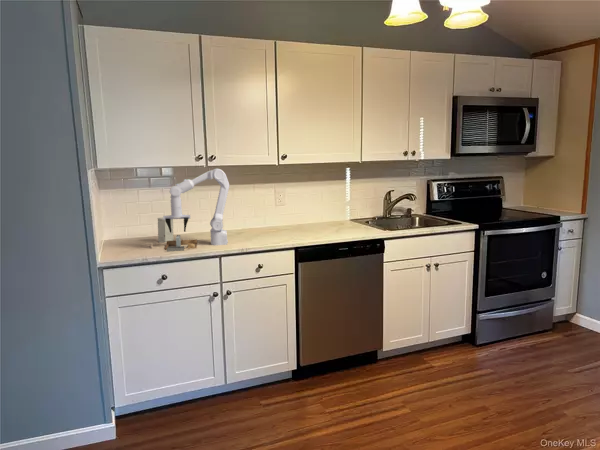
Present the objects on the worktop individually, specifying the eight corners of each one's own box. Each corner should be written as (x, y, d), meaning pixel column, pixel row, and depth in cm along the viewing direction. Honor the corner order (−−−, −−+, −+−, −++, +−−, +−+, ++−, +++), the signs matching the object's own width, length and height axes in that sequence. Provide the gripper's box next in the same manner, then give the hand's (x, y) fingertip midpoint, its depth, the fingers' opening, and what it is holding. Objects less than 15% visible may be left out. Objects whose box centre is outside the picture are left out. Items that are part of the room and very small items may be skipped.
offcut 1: (193, 246, 255) (193, 243, 255) (193, 247, 252) (193, 244, 252) (187, 246, 254) (187, 243, 254) (188, 247, 251) (188, 244, 251)
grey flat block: (180, 247, 259) (180, 235, 257) (180, 250, 251) (179, 237, 250) (177, 247, 258) (176, 235, 257) (176, 250, 250) (176, 238, 249)
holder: (184, 250, 249) (184, 246, 249) (184, 252, 245) (184, 247, 244) (167, 251, 247) (167, 247, 247) (167, 253, 243) (166, 248, 243)
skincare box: (158, 242, 273) (156, 217, 270) (166, 240, 277) (165, 216, 275) (165, 244, 267) (164, 219, 265) (174, 242, 272) (173, 217, 269)
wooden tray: (197, 245, 262) (196, 239, 262) (196, 249, 251) (196, 243, 250) (167, 246, 259) (166, 240, 259) (165, 251, 247) (164, 245, 247)
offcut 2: (194, 248, 256) (194, 246, 256) (194, 250, 252) (194, 247, 252) (188, 249, 255) (188, 246, 255) (187, 250, 251) (187, 247, 251)
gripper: (190, 206, 256) (191, 229, 258) (163, 207, 253) (165, 231, 255) (189, 207, 249) (190, 232, 251) (162, 208, 246) (163, 233, 248)
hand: (177, 231), depth 253 cm, fingers open, 7 cm apart
